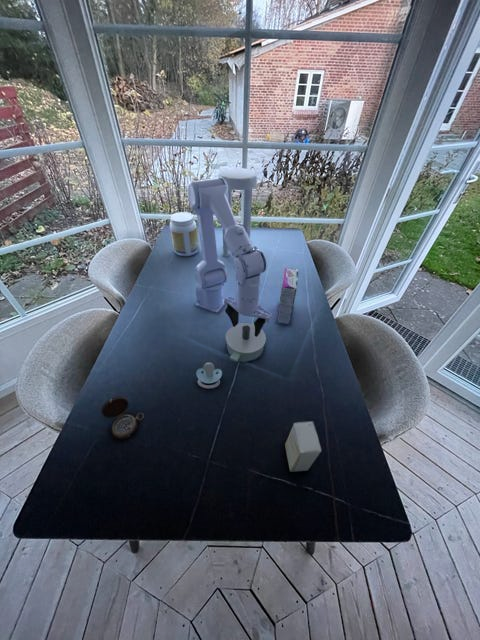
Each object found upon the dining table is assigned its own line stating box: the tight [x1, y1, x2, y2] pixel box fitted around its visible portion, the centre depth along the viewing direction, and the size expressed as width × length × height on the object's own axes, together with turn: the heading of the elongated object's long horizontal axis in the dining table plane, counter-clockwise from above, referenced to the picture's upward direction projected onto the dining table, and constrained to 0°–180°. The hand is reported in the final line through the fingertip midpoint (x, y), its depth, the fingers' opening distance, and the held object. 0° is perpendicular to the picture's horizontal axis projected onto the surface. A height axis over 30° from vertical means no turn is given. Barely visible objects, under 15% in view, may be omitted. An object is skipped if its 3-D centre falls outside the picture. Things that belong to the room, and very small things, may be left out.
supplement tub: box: [169, 211, 200, 257], centre depth 124 cm, size 12×12×17 cm
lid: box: [225, 322, 267, 354], centre depth 81 cm, size 13×13×5 cm
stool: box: [217, 167, 258, 257], centre depth 118 cm, size 16×16×35 cm
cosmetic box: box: [284, 420, 322, 473], centre depth 58 cm, size 6×4×12 cm
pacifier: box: [196, 362, 223, 389], centre depth 74 cm, size 7×6×6 cm
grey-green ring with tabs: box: [226, 321, 265, 363], centre depth 84 cm, size 12×17×4 cm
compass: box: [100, 396, 145, 440], centre depth 64 cm, size 8×8×7 cm
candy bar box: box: [276, 267, 299, 325], centre depth 92 cm, size 11×5×16 cm, turn 168°
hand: (246, 329), depth 80 cm, fingers open, 7 cm apart
